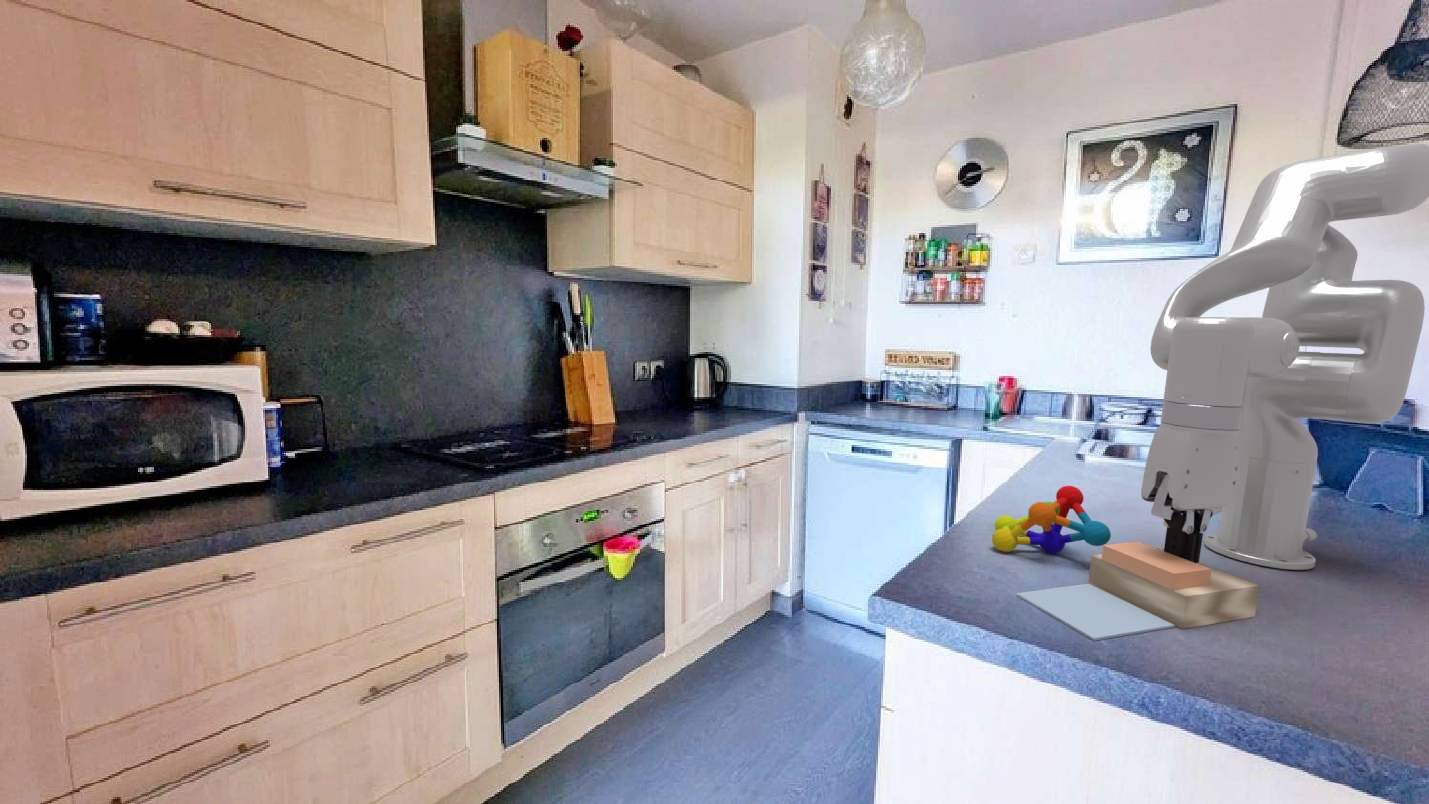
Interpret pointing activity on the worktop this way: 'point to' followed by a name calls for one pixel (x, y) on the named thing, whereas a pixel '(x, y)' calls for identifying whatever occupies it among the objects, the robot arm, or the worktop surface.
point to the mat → (1094, 611)
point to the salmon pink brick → (1156, 565)
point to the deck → (1179, 595)
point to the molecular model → (1050, 525)
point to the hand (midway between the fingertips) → (1180, 559)
